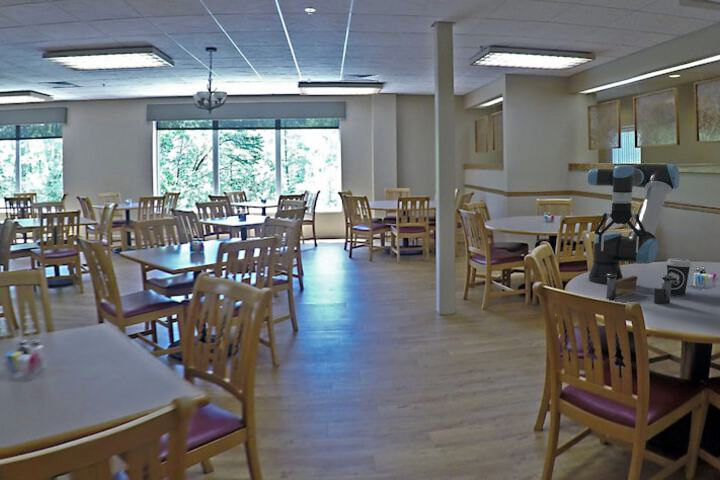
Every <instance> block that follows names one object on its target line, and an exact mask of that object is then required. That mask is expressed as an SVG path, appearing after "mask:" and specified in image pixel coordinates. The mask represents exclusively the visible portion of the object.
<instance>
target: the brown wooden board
mask: <svg viewBox="0 0 720 480" xmlns="http://www.w3.org/2000/svg"><path fill="white" fill-rule="evenodd" d="M637 281H638V276H636V275H631V276H626V277H623V278H622V279H618V280H616V287H615V299H616V298H617V299H618V298H620V297H623V296H627V295H628V296H629V295H631V294H634V293H636V292H637Z"/></svg>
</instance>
